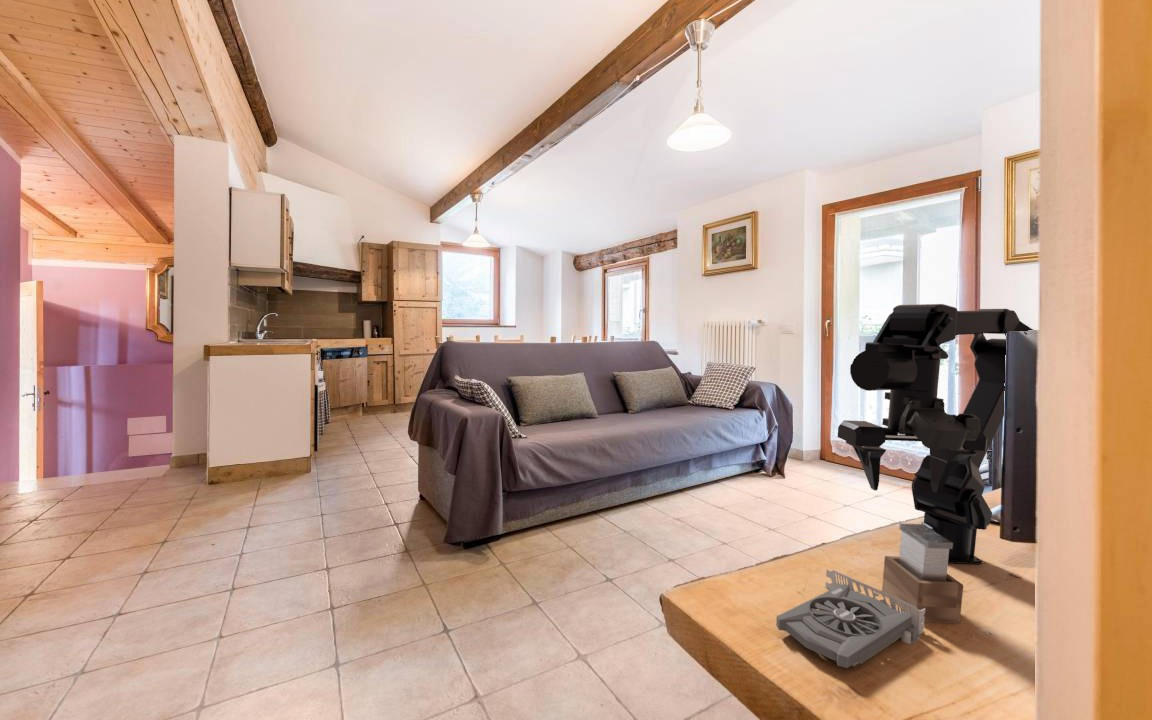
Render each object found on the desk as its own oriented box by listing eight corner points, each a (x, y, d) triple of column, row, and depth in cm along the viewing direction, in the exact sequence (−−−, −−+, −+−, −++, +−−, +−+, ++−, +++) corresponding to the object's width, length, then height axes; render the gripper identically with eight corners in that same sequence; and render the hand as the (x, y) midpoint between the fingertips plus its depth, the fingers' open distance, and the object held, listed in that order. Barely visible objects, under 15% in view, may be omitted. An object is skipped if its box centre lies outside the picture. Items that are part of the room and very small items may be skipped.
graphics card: (831, 564, 68) (928, 607, 57) (829, 590, 68) (927, 637, 58) (752, 599, 59) (851, 657, 49) (751, 629, 59) (850, 692, 49)
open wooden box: (921, 592, 67) (924, 557, 66) (959, 623, 60) (963, 585, 59) (882, 590, 67) (884, 556, 66) (915, 621, 60) (919, 583, 60)
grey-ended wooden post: (894, 579, 66) (899, 523, 65) (917, 580, 66) (922, 524, 65) (923, 603, 60) (928, 541, 60) (947, 604, 60) (952, 542, 60)
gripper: (883, 394, 64) (873, 509, 65) (1026, 399, 63) (1014, 514, 64) (839, 384, 75) (832, 481, 76) (961, 388, 74) (952, 486, 75)
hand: (904, 490), depth 73 cm, fingers open, 9 cm apart
